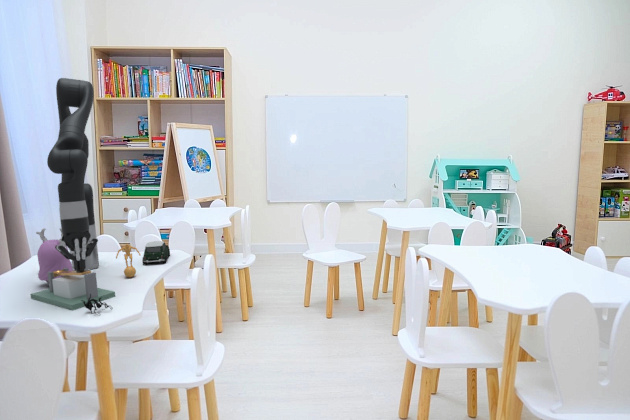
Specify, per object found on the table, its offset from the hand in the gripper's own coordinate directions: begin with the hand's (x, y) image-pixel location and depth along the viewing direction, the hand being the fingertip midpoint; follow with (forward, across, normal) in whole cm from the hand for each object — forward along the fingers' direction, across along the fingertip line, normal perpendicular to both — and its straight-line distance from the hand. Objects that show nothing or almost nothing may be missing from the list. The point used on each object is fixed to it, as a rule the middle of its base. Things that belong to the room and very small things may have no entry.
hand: (80, 271), depth 144 cm
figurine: (+9, -24, -10) cm, 27 cm away
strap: (+2, 0, -5) cm, 5 cm away
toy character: (+9, -6, -25) cm, 27 cm away
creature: (+10, +4, +14) cm, 18 cm away
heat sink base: (+9, 0, -6) cm, 11 cm away
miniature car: (+9, -46, -21) cm, 51 cm away
